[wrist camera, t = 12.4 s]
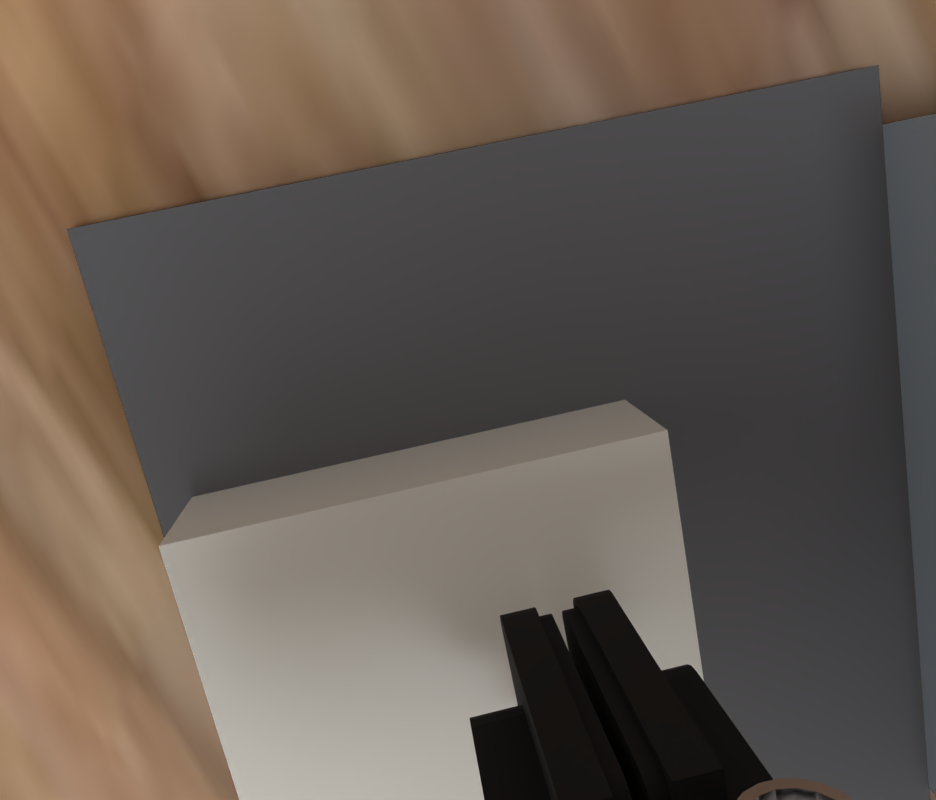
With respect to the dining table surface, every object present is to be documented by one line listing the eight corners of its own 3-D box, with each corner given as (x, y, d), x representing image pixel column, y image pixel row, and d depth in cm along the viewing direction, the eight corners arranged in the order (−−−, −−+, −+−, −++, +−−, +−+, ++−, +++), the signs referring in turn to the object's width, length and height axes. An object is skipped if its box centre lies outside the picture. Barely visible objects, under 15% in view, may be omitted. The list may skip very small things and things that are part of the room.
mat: (868, 68, 14) (878, 64, 14) (922, 815, 18) (931, 824, 17) (73, 229, 13) (66, 229, 13) (308, 977, 17) (307, 991, 17)
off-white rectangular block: (158, 545, 12) (191, 496, 14) (261, 868, 13) (277, 779, 15) (667, 429, 12) (625, 399, 15) (713, 753, 14) (669, 682, 16)
